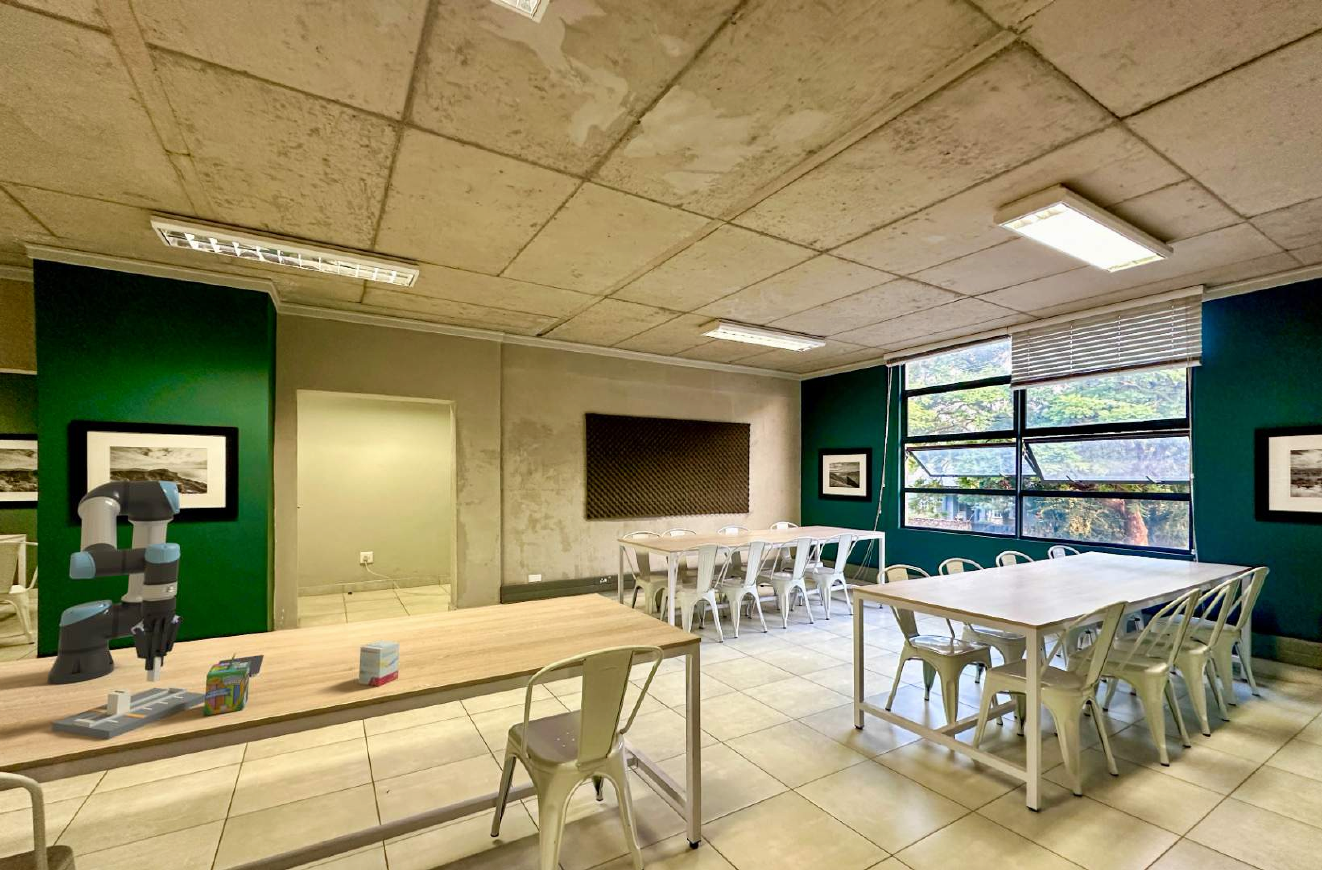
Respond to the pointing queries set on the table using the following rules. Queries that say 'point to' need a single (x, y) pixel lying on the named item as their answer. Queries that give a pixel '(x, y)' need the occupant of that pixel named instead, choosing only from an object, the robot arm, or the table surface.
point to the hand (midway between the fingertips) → (153, 680)
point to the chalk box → (227, 687)
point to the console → (130, 713)
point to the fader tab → (118, 702)
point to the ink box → (379, 663)
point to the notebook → (254, 665)
